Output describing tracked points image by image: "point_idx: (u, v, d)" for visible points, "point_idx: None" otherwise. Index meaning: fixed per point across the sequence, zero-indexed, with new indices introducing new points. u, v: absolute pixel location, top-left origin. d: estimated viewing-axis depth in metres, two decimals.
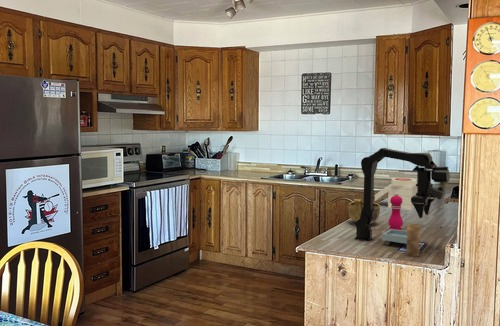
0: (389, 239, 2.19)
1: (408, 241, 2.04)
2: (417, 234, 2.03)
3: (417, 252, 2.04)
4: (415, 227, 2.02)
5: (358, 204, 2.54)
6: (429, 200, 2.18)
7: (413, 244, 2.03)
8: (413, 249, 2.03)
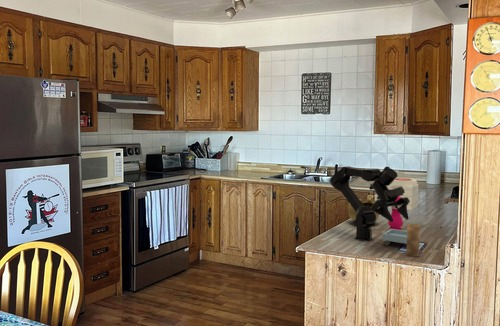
0: (389, 239, 2.19)
1: (408, 241, 2.04)
2: (417, 234, 2.03)
3: (417, 252, 2.04)
4: (415, 227, 2.02)
5: None
6: (402, 205, 2.16)
7: (413, 244, 2.03)
8: (413, 249, 2.03)
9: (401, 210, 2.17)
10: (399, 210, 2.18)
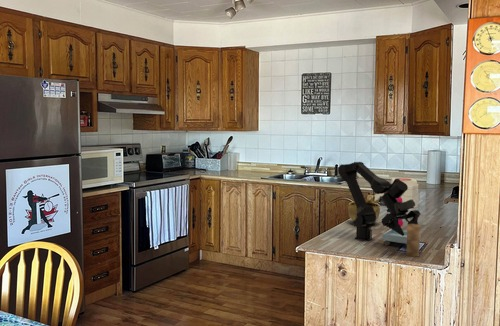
0: (389, 239, 2.19)
1: (408, 241, 2.04)
2: (417, 234, 2.03)
3: (417, 252, 2.04)
4: (415, 227, 2.02)
5: None
6: (413, 219, 2.11)
7: (413, 244, 2.03)
8: (413, 249, 2.03)
9: (411, 223, 2.12)
10: (410, 223, 2.13)
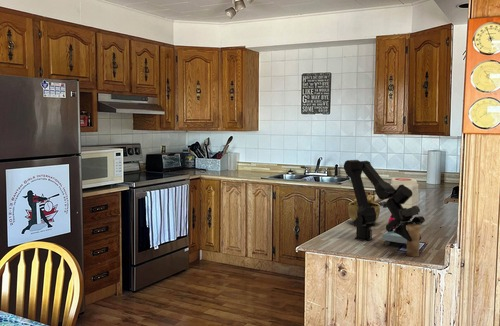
0: (389, 239, 2.19)
1: (408, 241, 2.04)
2: (417, 234, 2.03)
3: (417, 252, 2.04)
4: (415, 227, 2.02)
5: None
6: None
7: (413, 244, 2.03)
8: (413, 249, 2.03)
9: None
10: None
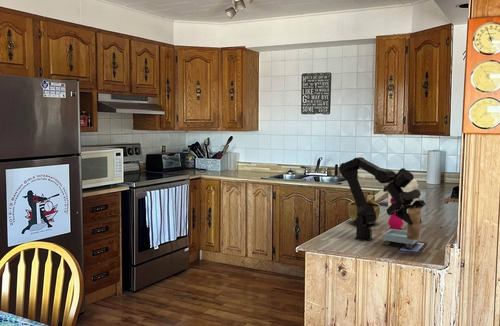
0: (389, 239, 2.19)
1: (409, 224, 2.05)
2: (418, 217, 2.03)
3: (418, 235, 2.04)
4: (416, 210, 2.03)
5: None
6: None
7: (414, 227, 2.04)
8: (414, 232, 2.04)
9: None
10: None
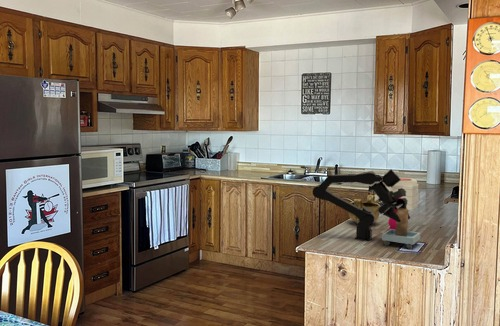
0: (389, 239, 2.19)
1: (398, 224, 2.20)
2: (407, 217, 2.19)
3: (406, 234, 2.21)
4: (405, 211, 2.19)
5: (358, 204, 2.54)
6: (402, 206, 2.26)
7: (403, 226, 2.19)
8: (403, 231, 2.19)
9: None
10: None
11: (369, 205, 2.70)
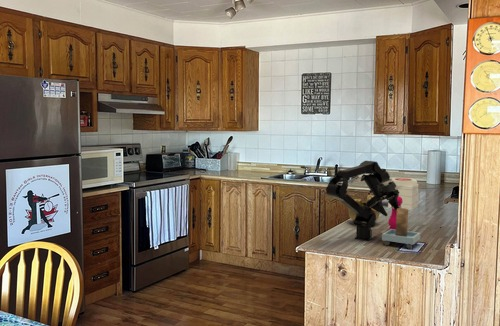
0: (389, 239, 2.19)
1: (398, 224, 2.20)
2: (407, 217, 2.20)
3: (406, 234, 2.21)
4: (405, 211, 2.19)
5: None
6: (393, 198, 2.30)
7: (403, 226, 2.19)
8: (403, 231, 2.19)
9: (392, 202, 2.31)
10: (390, 202, 2.32)
11: None
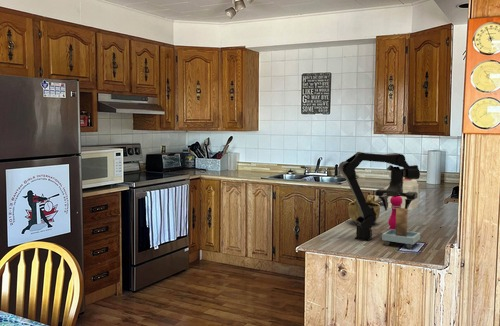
0: (389, 239, 2.19)
1: (398, 224, 2.20)
2: (406, 217, 2.20)
3: (406, 234, 2.21)
4: (404, 211, 2.19)
5: None
6: None
7: (403, 226, 2.19)
8: (403, 231, 2.20)
9: None
10: None
11: None
